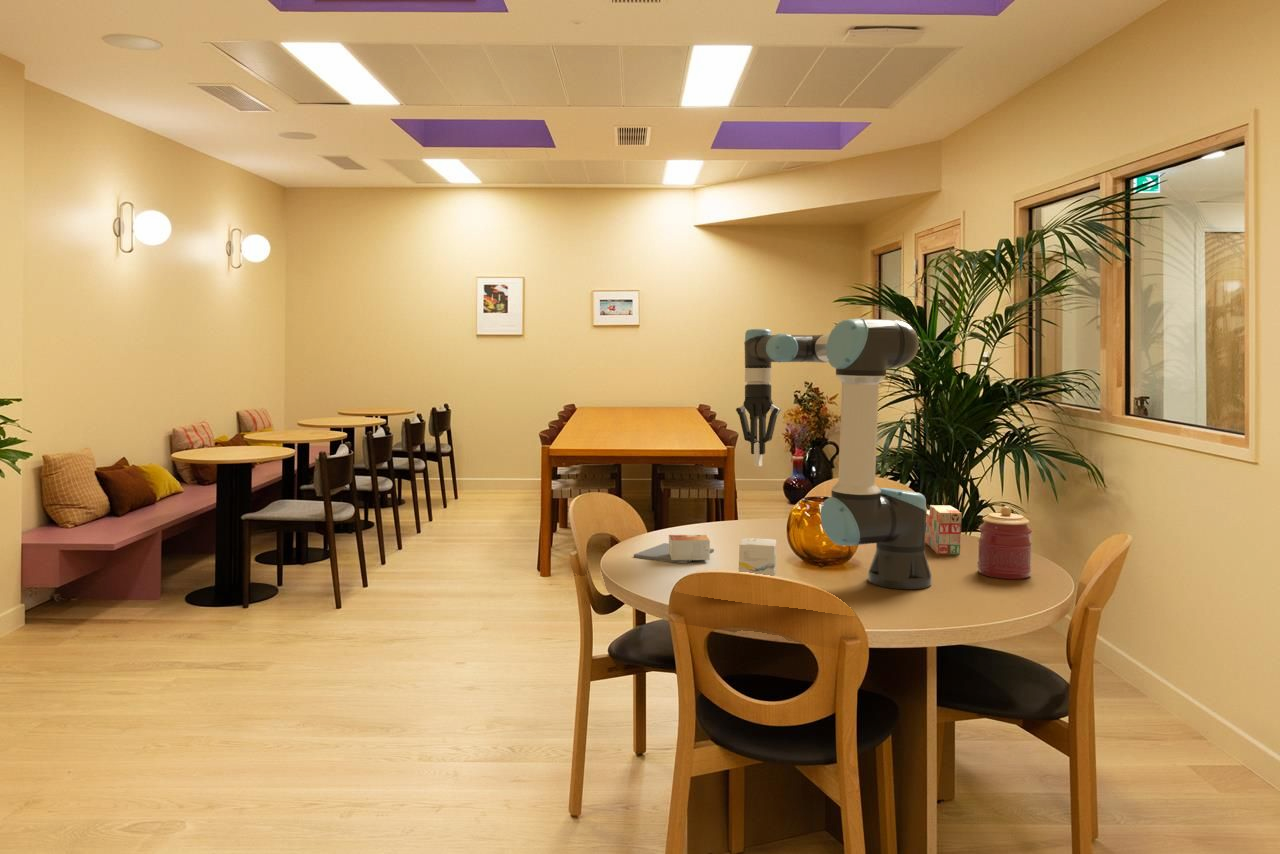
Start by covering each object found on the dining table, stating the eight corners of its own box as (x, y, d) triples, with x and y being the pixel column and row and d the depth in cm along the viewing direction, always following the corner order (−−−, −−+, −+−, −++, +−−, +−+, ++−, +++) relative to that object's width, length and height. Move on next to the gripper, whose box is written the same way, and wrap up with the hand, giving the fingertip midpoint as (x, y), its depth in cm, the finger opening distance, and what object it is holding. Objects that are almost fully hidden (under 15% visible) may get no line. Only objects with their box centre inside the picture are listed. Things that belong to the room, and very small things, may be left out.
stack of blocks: (921, 539, 287) (922, 500, 286) (942, 540, 286) (943, 500, 285) (937, 554, 265) (939, 511, 264) (960, 555, 265) (961, 512, 264)
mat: (713, 551, 267) (713, 548, 267) (685, 563, 251) (685, 560, 251) (664, 545, 275) (664, 543, 275) (633, 557, 259) (633, 554, 259)
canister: (966, 570, 246) (968, 503, 244) (1005, 566, 250) (1007, 501, 249) (1001, 581, 233) (1004, 511, 232) (1042, 577, 238) (1045, 509, 237)
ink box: (774, 594, 220) (774, 545, 219) (737, 592, 222) (738, 543, 221) (776, 585, 229) (776, 538, 228) (741, 583, 230) (741, 537, 229)
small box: (710, 540, 252) (671, 540, 251) (710, 560, 252) (671, 560, 252) (706, 534, 260) (668, 534, 259) (705, 554, 260) (668, 554, 260)
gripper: (784, 383, 267) (784, 465, 268) (741, 383, 273) (741, 463, 275) (775, 383, 261) (775, 467, 262) (731, 383, 267) (731, 466, 268)
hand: (758, 465), depth 268 cm, fingers closed
